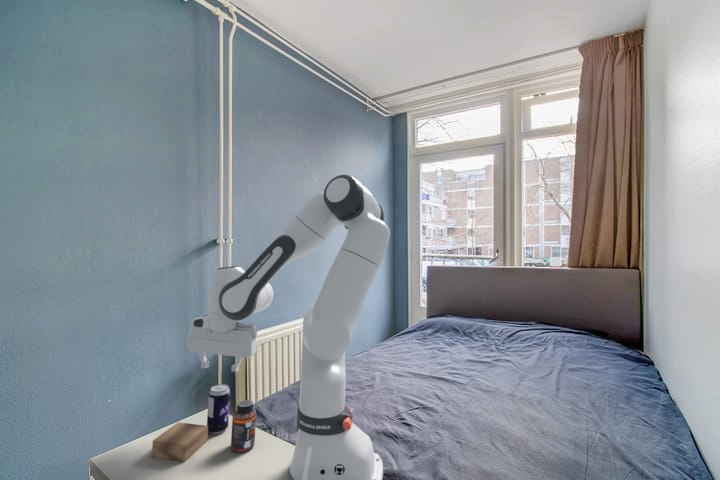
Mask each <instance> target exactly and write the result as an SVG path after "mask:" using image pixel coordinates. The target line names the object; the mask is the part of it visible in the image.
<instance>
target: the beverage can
mask: <svg viewBox="0 0 720 480" xmlns="http://www.w3.org/2000/svg"><path fill="white" fill-rule="evenodd" d="M230 398H231V390H230V386H229V385H228V384H223V383H221V384H216V385H214V386H211V387H210V390H209V392H208V401H207V417H206V418H207V419H206V426H208V433H210V434H211V435H218V434H222V433H224V432H225V430H227V429H228V427H229V420H230V419H229V416H230V400H231V399H230Z"/></svg>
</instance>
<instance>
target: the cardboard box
mask: <svg viewBox="0 0 720 480" xmlns="http://www.w3.org/2000/svg"><path fill="white" fill-rule="evenodd" d="M208 433H209V431H208V426H207V425H203V424H195V423H188V422H179V421H178V422H176V423H175V424H174V425H172V426H171V427H169V428H168V429H166V430H165V431H164V432H163V433H161V434H160V435H159V436H157V437H155V438H154V439H153V440H152V445H151V446H152V447H151V448H152V449H151V458H154V459H155V458H157V459H163V460H168V461H175V462H176V461H177V462H183V463H185V462H186V461H188V459H190V458H191V457H192V456H193V455H194V454H195V453H196V452H198V450H200V449H201V447H203V446H204V445H205V444H206V443H207V442H208V440H209V439H208V435H209V434H208Z"/></svg>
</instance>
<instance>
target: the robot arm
mask: <svg viewBox="0 0 720 480" xmlns="http://www.w3.org/2000/svg"><path fill="white" fill-rule="evenodd" d="M338 226H343V227H344V228H345V229H346V230H347V233H346V236H345V239H344V241H343V242H342V244H341V247H340V249H339V250H338V251H337V255H336V256H335V259H334V261H333V262H332V264H331V266H330V267H329V268H330V269H329V271H328V272H327V275H326V276H325V278H324V279H325V280H324V282H323V284H322V287H321V289H320V291H319V294H318V296H317V298H316V300H315V303H314V304H313V305H312V306H310V307H309V308H308V309H307V310H306V312H305V315H304V316H303V321H302V340H301V341H302V342H301V366H300V385H299V387H300V388H299V406H298V407H297V412H296V418H295V419H296V420H295V421H296V422H295V425H296V426H295V427H296V441H295V446H294V449H293V455H292V458H291V462H290V465H289V468H288V469H289V474H290V476H291V477H292V479H293V480H383V476H384V464H383V461H382V457H381V456H380V455H379V453H376V452H375V451H374V446H373V442H372V439H371V437H370V436H369V435H368V434H366V433H365V432H364V431H363V430H362V429H361V428H360V427H358V425H356V424H355V423H354V422H353V407H350V409H349V408H348V407H347V406H346V404H345V403H346V384H347V383H346V380H347V372H346V352H347V350H348V348H349V346H350V344H351V339H352V337H353V333H354V330H355V328H356V326H357V323H358V321H359V317H360V314H361V312H362V307H363V305H364V302H365V300H366V297H367V293H368V292H369V289H370V287H371V286H372V283H373V282H374V279H375V277H376V274H377V272H378V270H379V268H380V267H381V264H382V262H383V260H384V257H385V254H386V252H387V248H388V245H389V241H390V237H391V230H390V228H389V226H388V225H387V224H386V222H385V213H384V210H383V208H382V206H381V205H380V203H379V202H378V201H377V199H376V198H375V197H374V195H373V193H371V191H370V190H369V189H368V188H366V187H365V186H364V185H363V184H362V183H361V182H360V180H358V179H356V178H355V177H354V176H352V175H349V174H340V175H337V176H334V177H333V178H332V179H330V180H329V182H327V184H326V186H325V187H324V190H323V191H319V192H318V193H316V194H315V195H313V196H312V197H311V198H310V199H309V200H307V202H305V203H304V204H303V205H302V206H301V207H300V209H298V211H297V212H296V213H295V215H294V216H293V217H292V218H291V219H290V221H289V222H288V223H287V224H286V226H284V228H283V230H281V232H280V233H279V235H278V236H276V238H274V240H273V241H272V243H270V244H269V245H268V246H267V247H266V248H265V250H264V251H263V252H262V253H261V254H260V255H259V256H258V257H257V258H256V259H255V261H254V262H253V263H251V265H250V266H249V267H248V268H247V269H246V270H245V269H244V268H243V267H241V266H237V265H234V266H233V265H232V266H223V267H219V268H217V269H215V271H214V272H213V274H212V278H211V281H210V291H209V299H210V301H209V302H210V304H209V307H208V312H207V314H206V315H203V316H199V317H195V318H193V319H191V320H190V327H191V328H190V329H189V331H188V334H187V338H186V348H187V350H188V351H189V352H193V353H198V354H197V357H198V359H199V360H200V362H201V365H200V368H201V369H207V368H209V367H210V362H211V361H210V360H208V359H207V356H206V355H207V354H209V355H212V354H213V355H220V356H229V357H230V356H231V357H235V361H236V362H235V363H234V364H232V365H231V369H230V371H231V372H234V373H237V372H238V371H239V369H240V364H241V363H242V361H244V358H246V359H250V358H251V357H252V356H254V355H255V354H256V353H257V335H258V334H257V333H258V330H257V328H256V326H255V325H253V324H252V323H243V322H241V320H245V319H246V318H248V317H250V316H252V315H255V314H257V313H260V312H262V311H265V310H266V309H268V308H269V307H270V306H271V305H272V304H273V302H274V298H275V292H274V288H273V286H272V285H271V283H270V282H271V280H273V278H274V277H275V276H276V275H277V274H278V273H279V272H280V271H281V270H282V269H283V268H284V267H286V265H288V264H290V263H292V262H293V261H296V260H299V259H301V258H304V257H307V256H309V255H311V254H312V253H314V251H315V250H317V249H318V248H319V247H320V246H321V245H322V244H323V243H324V241H325V240H326V239H327V237H328V236H329V235H330V233H332V231H333V230H334V229H335V228H336V227H338Z"/></svg>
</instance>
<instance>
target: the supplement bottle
mask: <svg viewBox="0 0 720 480" xmlns="http://www.w3.org/2000/svg"><path fill="white" fill-rule="evenodd" d="M256 423H257V411H256V409H254V401H252V400H249V399H247V400H246V399H245V400H244V399H243V400H241V401H239V402H238V403H237V404H236V410H235V411H234V412H233V414H232V423H231V439H230V448H231V451H233V452H235V453H245V452H248V451H250V450H251V449H252V448H253V447H254V446H255V442H256Z"/></svg>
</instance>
